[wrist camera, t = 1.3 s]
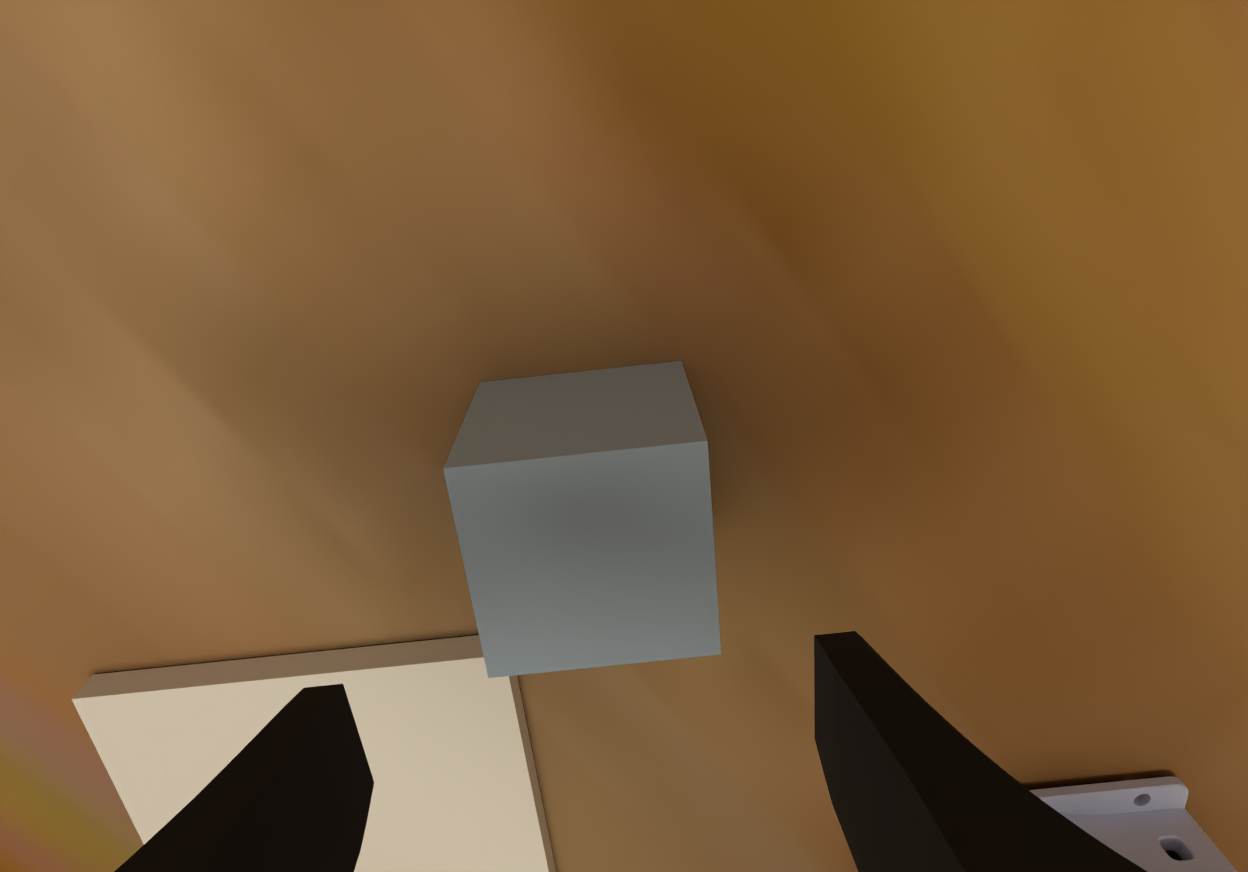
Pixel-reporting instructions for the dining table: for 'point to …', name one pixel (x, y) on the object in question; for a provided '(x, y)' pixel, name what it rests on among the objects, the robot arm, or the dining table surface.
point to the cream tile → (389, 731)
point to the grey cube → (586, 520)
